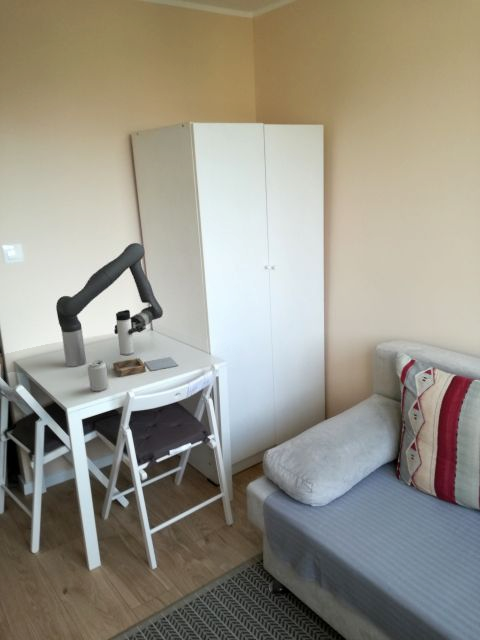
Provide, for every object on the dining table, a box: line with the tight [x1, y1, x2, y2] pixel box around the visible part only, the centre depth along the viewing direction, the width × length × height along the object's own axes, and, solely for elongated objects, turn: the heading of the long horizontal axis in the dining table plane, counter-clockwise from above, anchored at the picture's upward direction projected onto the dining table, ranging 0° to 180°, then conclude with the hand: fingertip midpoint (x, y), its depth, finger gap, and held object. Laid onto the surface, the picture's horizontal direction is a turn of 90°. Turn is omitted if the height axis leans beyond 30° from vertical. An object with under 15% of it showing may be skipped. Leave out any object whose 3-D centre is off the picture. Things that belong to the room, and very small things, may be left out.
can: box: [87, 359, 109, 392], centre depth 215 cm, size 8×8×12 cm
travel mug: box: [115, 309, 135, 357], centre depth 231 cm, size 6×7×20 cm
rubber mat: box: [143, 356, 179, 372], centre depth 242 cm, size 13×13×1 cm
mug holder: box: [112, 357, 147, 378], centre depth 235 cm, size 12×12×3 cm
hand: (122, 332), depth 228 cm, fingers closed on travel mug, 6 cm apart
